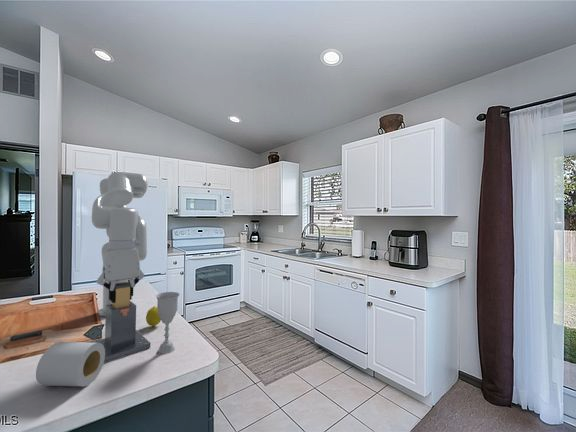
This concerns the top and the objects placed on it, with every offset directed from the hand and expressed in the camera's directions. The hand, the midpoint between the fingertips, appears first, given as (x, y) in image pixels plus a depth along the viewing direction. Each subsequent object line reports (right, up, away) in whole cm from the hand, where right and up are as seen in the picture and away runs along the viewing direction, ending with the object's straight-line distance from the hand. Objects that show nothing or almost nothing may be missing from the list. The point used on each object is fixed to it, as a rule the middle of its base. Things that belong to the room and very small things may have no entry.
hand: (121, 299), depth 88 cm
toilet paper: (-1, -16, -18) cm, 24 cm away
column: (0, -14, 0) cm, 14 cm away
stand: (0, -16, 0) cm, 16 cm away
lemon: (+3, -16, +16) cm, 23 cm away
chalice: (+15, -16, -1) cm, 22 cm away
